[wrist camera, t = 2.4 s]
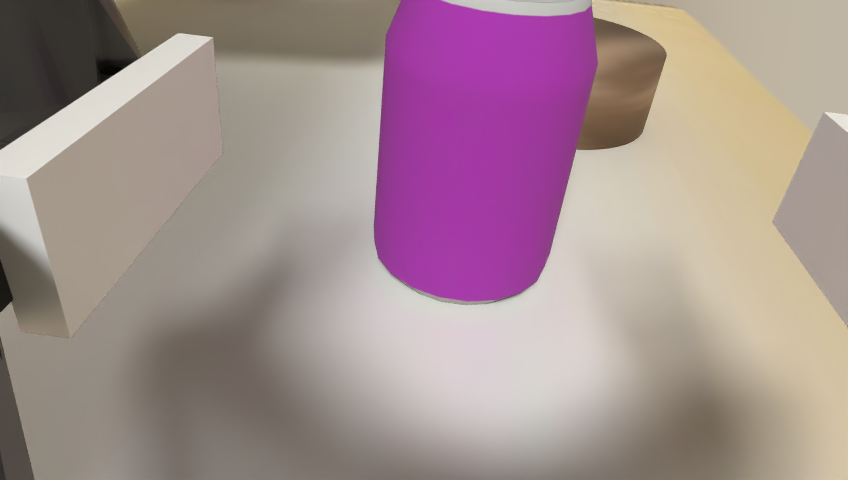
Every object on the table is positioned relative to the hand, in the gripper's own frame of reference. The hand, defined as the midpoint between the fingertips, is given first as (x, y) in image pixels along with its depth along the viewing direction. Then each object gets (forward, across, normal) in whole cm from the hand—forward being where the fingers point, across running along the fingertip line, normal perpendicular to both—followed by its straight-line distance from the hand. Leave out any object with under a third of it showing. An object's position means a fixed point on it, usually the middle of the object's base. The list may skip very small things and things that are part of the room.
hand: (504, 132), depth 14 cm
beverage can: (+10, 0, -11) cm, 15 cm away
